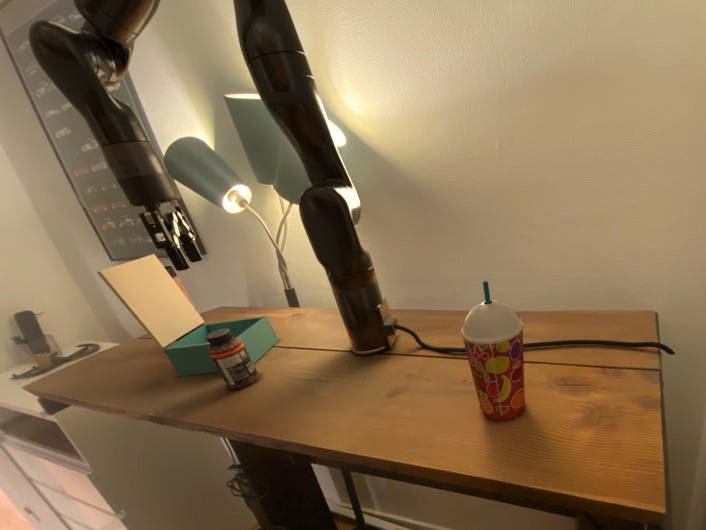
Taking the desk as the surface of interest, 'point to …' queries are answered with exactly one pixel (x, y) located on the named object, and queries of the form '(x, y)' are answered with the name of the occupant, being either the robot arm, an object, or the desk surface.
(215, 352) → the supplement bottle
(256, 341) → the teal open box
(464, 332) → the smoothie
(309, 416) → the desk surface
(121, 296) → the lid
